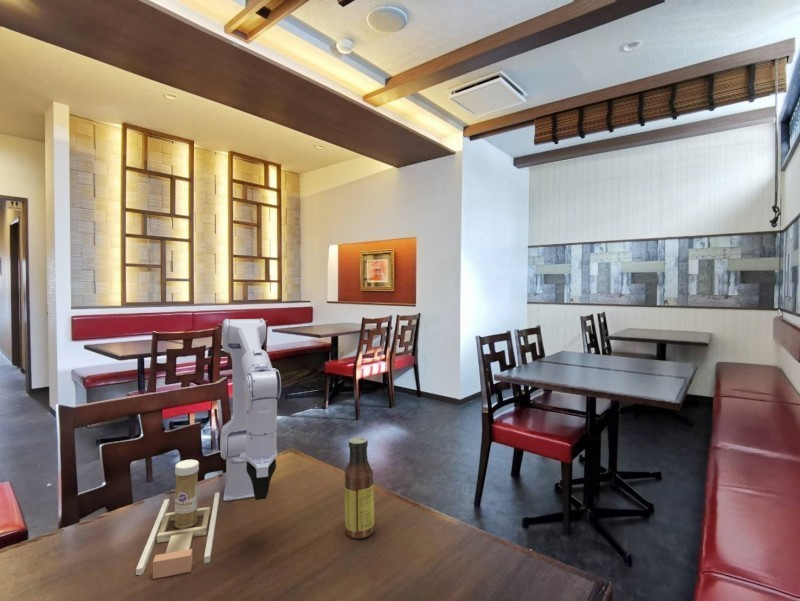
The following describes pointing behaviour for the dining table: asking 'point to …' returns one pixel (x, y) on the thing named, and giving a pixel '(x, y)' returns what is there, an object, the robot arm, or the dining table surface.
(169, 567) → the sliding strip
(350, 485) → the sauce bottle
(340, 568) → the dining table surface
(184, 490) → the sprinkles bottle
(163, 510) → the lane rails
